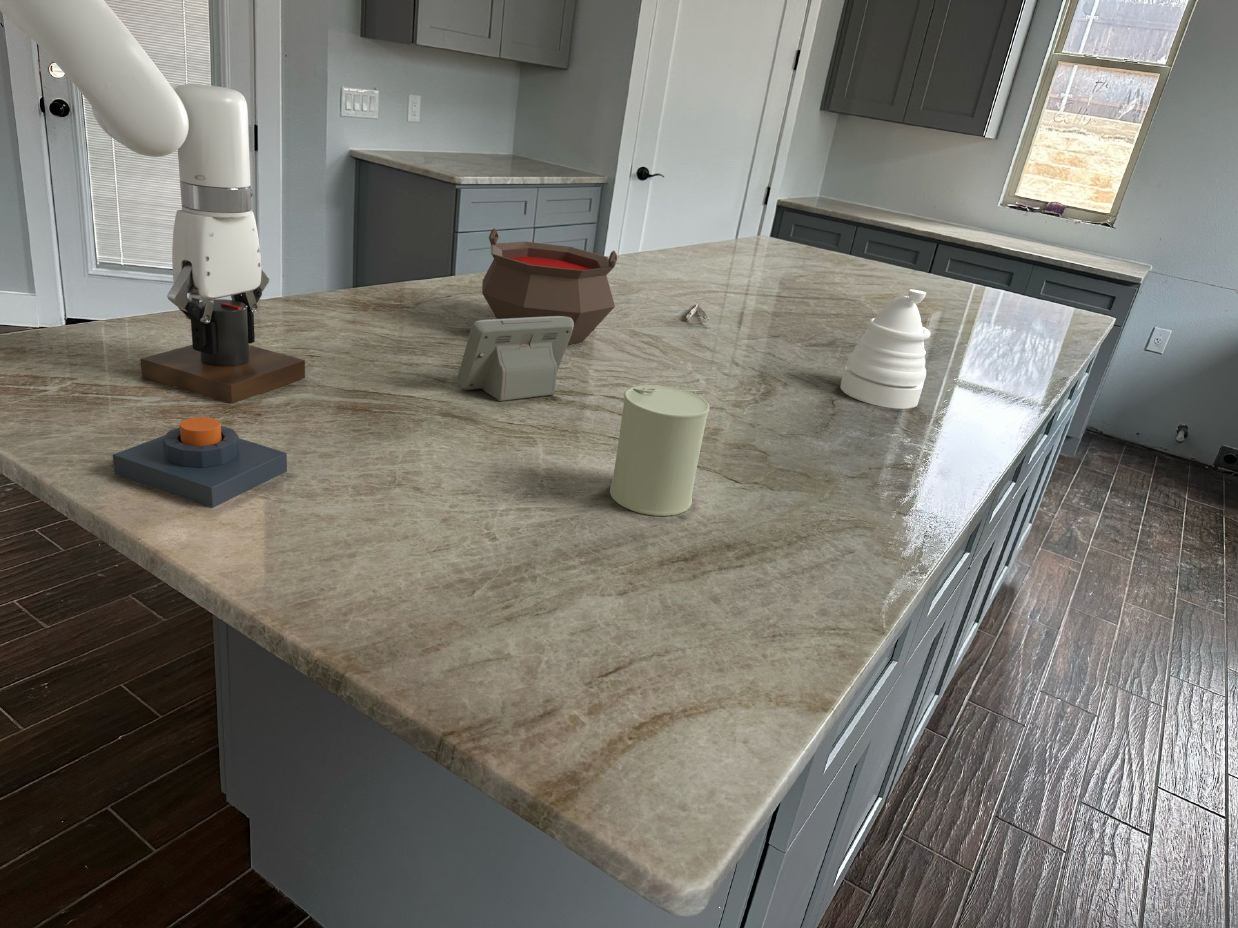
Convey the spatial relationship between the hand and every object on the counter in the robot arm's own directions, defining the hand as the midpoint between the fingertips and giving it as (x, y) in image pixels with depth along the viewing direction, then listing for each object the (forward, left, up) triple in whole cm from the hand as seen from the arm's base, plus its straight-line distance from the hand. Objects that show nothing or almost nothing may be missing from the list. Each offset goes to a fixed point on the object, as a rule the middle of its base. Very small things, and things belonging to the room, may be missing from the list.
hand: (224, 345), depth 107 cm
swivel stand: (0, 0, -4) cm, 4 cm away
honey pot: (+78, +62, -5) cm, 100 cm away
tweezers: (+38, +90, -5) cm, 98 cm away
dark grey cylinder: (0, 0, -2) cm, 2 cm away
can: (+58, +1, -5) cm, 58 cm away
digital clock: (+30, +22, -5) cm, 37 cm away
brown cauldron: (+21, +51, -5) cm, 55 cm away
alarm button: (+18, -22, -1) cm, 28 cm away
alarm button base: (+18, -22, -4) cm, 29 cm away
